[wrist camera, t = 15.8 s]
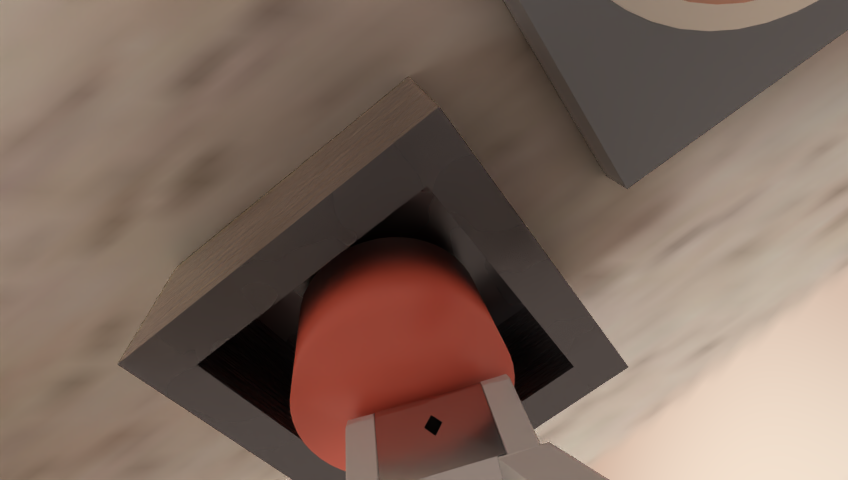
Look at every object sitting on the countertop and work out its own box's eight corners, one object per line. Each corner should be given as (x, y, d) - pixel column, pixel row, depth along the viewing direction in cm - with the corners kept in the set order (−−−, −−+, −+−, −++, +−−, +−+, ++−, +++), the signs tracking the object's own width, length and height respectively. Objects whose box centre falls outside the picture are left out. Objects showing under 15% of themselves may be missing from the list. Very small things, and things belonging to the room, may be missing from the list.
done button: (378, 414, 12) (388, 507, 10) (258, 314, 10) (237, 400, 8) (510, 321, 12) (553, 397, 9) (407, 199, 10) (429, 256, 8)
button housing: (366, 421, 15) (374, 534, 12) (175, 267, 12) (117, 363, 8) (561, 284, 14) (628, 366, 10) (408, 76, 11) (439, 106, 7)
